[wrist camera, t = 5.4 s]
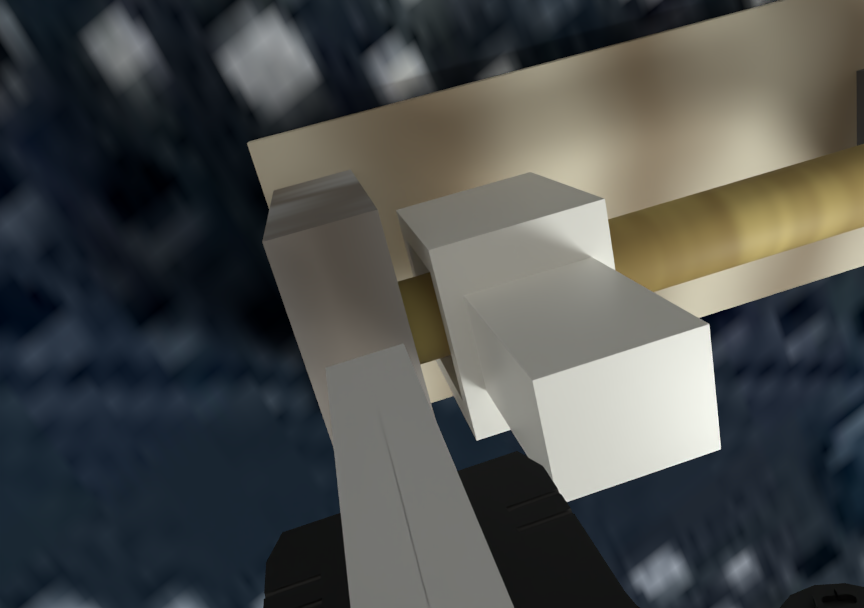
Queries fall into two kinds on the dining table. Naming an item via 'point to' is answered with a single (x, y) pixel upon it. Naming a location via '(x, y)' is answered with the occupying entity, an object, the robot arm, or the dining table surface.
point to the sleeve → (561, 335)
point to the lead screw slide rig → (588, 175)
